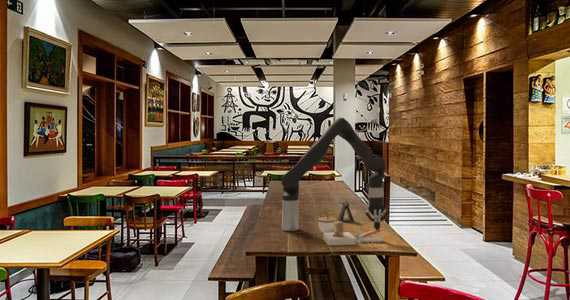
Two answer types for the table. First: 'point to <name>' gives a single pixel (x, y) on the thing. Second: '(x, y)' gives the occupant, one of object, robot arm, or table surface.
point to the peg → (338, 229)
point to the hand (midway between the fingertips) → (376, 229)
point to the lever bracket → (367, 239)
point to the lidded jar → (326, 224)
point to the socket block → (339, 239)
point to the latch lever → (369, 233)
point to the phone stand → (344, 213)
